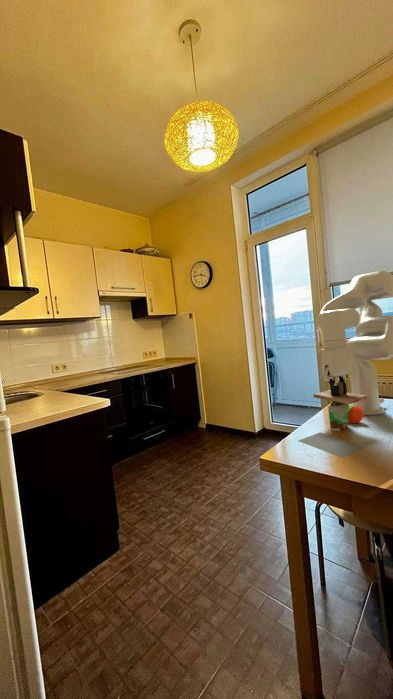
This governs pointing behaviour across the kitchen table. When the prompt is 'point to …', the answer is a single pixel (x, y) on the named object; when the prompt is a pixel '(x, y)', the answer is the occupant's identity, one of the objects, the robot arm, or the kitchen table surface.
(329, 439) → the mat
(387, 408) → the kitchen table surface
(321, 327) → the robot arm
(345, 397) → the lid
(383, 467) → the kitchen table surface
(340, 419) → the food container
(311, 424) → the kitchen table surface
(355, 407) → the clementine
